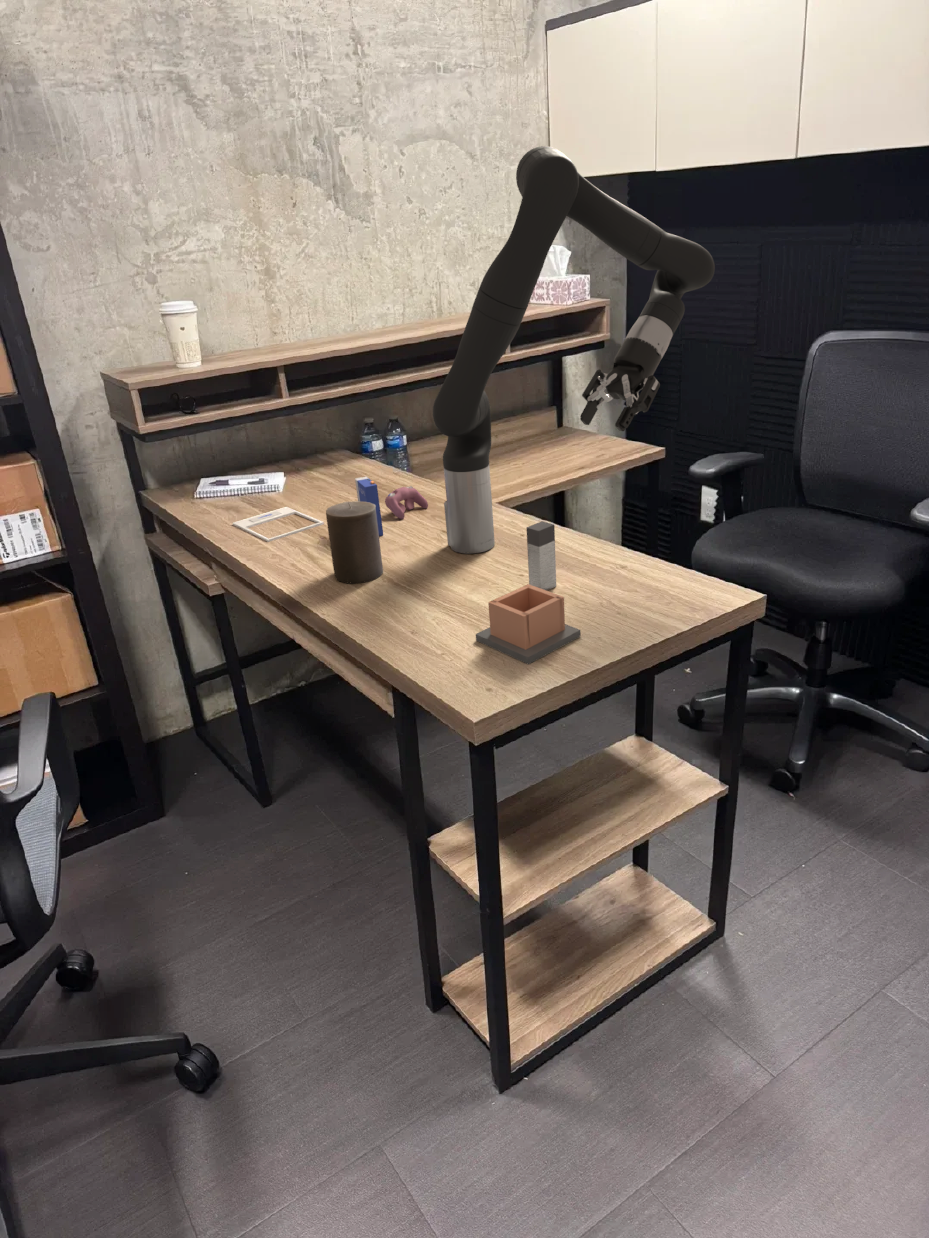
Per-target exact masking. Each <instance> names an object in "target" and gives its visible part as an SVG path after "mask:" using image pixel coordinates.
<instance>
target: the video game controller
mask: <svg viewBox="0 0 929 1238" xmlns="http://www.w3.org/2000/svg"><path fill="white" fill-rule="evenodd" d="M402 501H404V502H403V503H401V502H402ZM384 503H385V505H386V508H387V509H388V510H389V511H391V513H392V514H393V515H394V516H395V517H396V518H398V519H399V520H404V519H405V516H406V515H405V512H406V510H407V511H411V510H413V509H414V508H415V503H416V505H418V506H419V507H420V508H422V509H427V508H428V507H429V504H428V500H427V499H426V498H425V497H424V496H423V495H422V494H421V493H420V492H419V490H418V489H416V488H415V487H413V486H412V485H410V486H401V487H398V488H396V489H393V490H392V491H391V492H390V493H389V494H388V495H387V496H386V497H385V499H384Z"/></svg>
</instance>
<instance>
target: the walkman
mask: <svg viewBox="0 0 929 1238" xmlns="http://www.w3.org/2000/svg"><path fill="white" fill-rule="evenodd" d="M354 481H355V486H356V487H355V488H356V495H357V497H356V498H357V501H360V502H370V503H372V504H375V506H376V516H377V524H378V532H379V537H382V536H384V529H383V520H382V514H381V505H380V499H379V491H378V484H376V483H375V481H373V480H371V479H370V478H369V477H368V476H363V477H361V476H360V477H356V478H354Z"/></svg>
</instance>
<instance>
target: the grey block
mask: <svg viewBox="0 0 929 1238" xmlns="http://www.w3.org/2000/svg"><path fill="white" fill-rule="evenodd" d="M555 533H556V531H555V524H553V523H550V522H546V521H544V520H542V521H539V522H537V523H534V524H532V525H528V526H527V527H526V545H527V547H526V548H527V566H528V568H527V569H528V584H529V585H532V586H535V587H538V588H540V589H543V590H546V591H550V590H551V589H552V590H553V588H555V587H557V568H556V567H557V565H556V535H555Z"/></svg>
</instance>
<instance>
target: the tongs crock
mask: <svg viewBox="0 0 929 1238" xmlns="http://www.w3.org/2000/svg"><path fill="white" fill-rule="evenodd" d="M487 603H488V617H489V627H487V628H485V629H482V630H481V631H479V632H477V633H475V641H476V642H478V643H480V644H482V645H484V646H485V645H486V646H487V647H490V648H492V649H494V650H496V651H498V652H500V653H503V654H505V655H507V656H509V657H511V658H514V659H515V660H518V661H520V662H522V663H525V664H527V665H529V664H530V665H531V664H532V663H534V662H536V661H537V660H539V659H541V658H543V657H545V656H546V655H549V654H550V653H552V652H554V651H556V650H558V649H560V648H562V647H564V646H565V645H568V644H569V643H572V642H573V641H574V640H576V639H579V638H581V631H582V630H581V629H580V628H577V627H574V626H572V625H569V624H567V623H566V620H565V619H566V618H565V597H564V596H563V595H560V594H557V593H554V592H551V591H550V590H547V591H546V590H543V589H540V588H538V587H535V586H532V585H529V583H528V584H525V585H523V586H521V587H519V588H516V589H515V590H512V591H510V592H508V593H507V592H506V593H505V594H503V595H501V596H499V597H496V598H495V599H492V600H490V601H488V602H487Z"/></svg>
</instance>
